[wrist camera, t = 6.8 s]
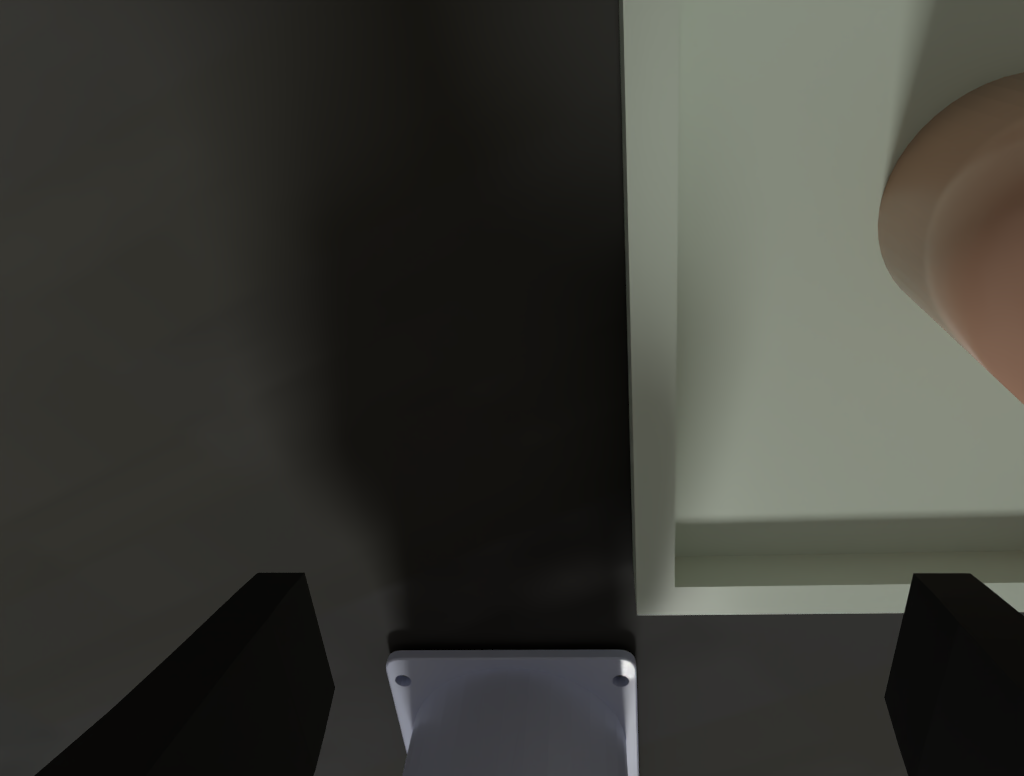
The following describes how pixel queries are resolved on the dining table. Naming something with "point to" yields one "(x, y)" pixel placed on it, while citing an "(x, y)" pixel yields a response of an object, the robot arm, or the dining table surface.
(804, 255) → the tray
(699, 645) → the dining table surface
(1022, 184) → the tan cylinder
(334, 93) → the dining table surface
